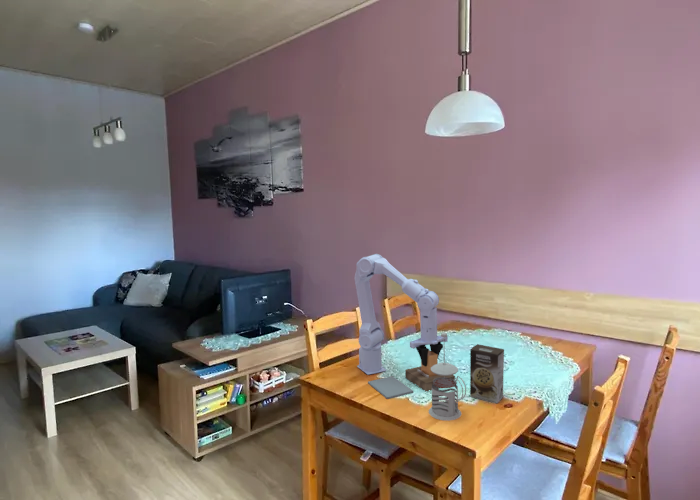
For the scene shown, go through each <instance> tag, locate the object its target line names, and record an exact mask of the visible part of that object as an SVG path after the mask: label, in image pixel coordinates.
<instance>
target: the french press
mask: <svg viewBox="0 0 700 500" xmlns="http://www.w3.org/2000/svg"><path fill="white" fill-rule="evenodd" d="M440 335H441V337H447V336H448V333H447V332H445V331H444V332H442V333H440ZM445 352H446V351H445V349H443V362H438V364H435V365H433V366H432V367H431V371H432V372H433V373H435V374H437V375H442V376H444V377H438V378H436V379H434V380H433V384H432V390H431V407H430V408H429V409H428V414H429V416H431V417H432V418H434V419H436V420H440V421H446V422H447V421H449V422H450V421H455V420H458V419H460V418H461V416H462V411H461V410H460V409H459V402H460V401H461V400H463V399H464V398H465V396H466V394H467V386H466V383H465V381H464V380H463V378H461V376H459V375H457V376H456V377H455V378H454V379H451V378H447V377H445V376H449V375H454V376H455V375H456V374H457V373H458V372H459V368H458V367H457V366H456V365H455V364H451V363H449V362H446V359H445ZM458 378H459V379H458ZM460 379H461V381H462V382H461V381H460ZM457 381H458V383H459V384H460V386H461V391H462V392H461V393H462V394H461V397H460V398H459V395H458V394H459V391H458V389H459V387H458V385H457V384H458V383H457ZM462 383H463V385H464V387H463V385H462ZM464 389H465V390H464ZM464 391H465V392H464Z"/></svg>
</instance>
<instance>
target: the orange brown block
mask: <svg viewBox="0 0 700 500" xmlns="http://www.w3.org/2000/svg"><path fill="white" fill-rule="evenodd" d="M420 363H421V365H420V366H421V371H422V372H424V373H425V374H427V375H429V377H432V376H436V375H437V374H435V373H433V372H432V371H431V367H432V366H433V365H435V364H438V363H439V356H438V354H436V353H434V352H432V351H431V349H429V351H428V356H427V366H424V365H422V362H421V361H420Z"/></svg>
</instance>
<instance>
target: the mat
mask: <svg viewBox="0 0 700 500" xmlns="http://www.w3.org/2000/svg"><path fill="white" fill-rule="evenodd" d="M367 384H368V385H369V386H370V387H371V388H373V389H375V390H376V392H378V393H379V394H381V395H382V396H383V397H384V398H385V399H387V400H389V399H393V398H394V399H395V398H397V397H400V396H401V397H402V396H406V395H409V394H413V393H414V390H413V389H412V388H410V387H409V386H407V385H406V384H405V383H403V382H402V381H400V380H399V379H398V378H396V377H394V376H393V375H391V376H387V377H382V378H376V379H374V380H370V381H367ZM405 394H406V395H405Z"/></svg>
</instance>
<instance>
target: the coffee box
mask: <svg viewBox="0 0 700 500" xmlns="http://www.w3.org/2000/svg"><path fill="white" fill-rule="evenodd" d="M469 350H470V353H469V355H470V357H469V358H470V359H469V361H470V363H469V364H470V365H469V366H470V367H469V368H470V370H469V371H470V372H469V382H470V383H469V385H470V387H469V390H470V391H469V393H470V394H469V397H471V398H475V399H478V400H483V401H486V402H490V403H493V404H498V403H500V401H501V399H503V397H504V373H505V372H504V369H505V368H504V367H505V366H504V364H505V363H504V362H505V361H504V360H505V349H504V348H499V347H495V346H488V345H484V344H480V343H479V344H478V343H477V344H476V345H474V346H473V347H472V348H470V349H469Z"/></svg>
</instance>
